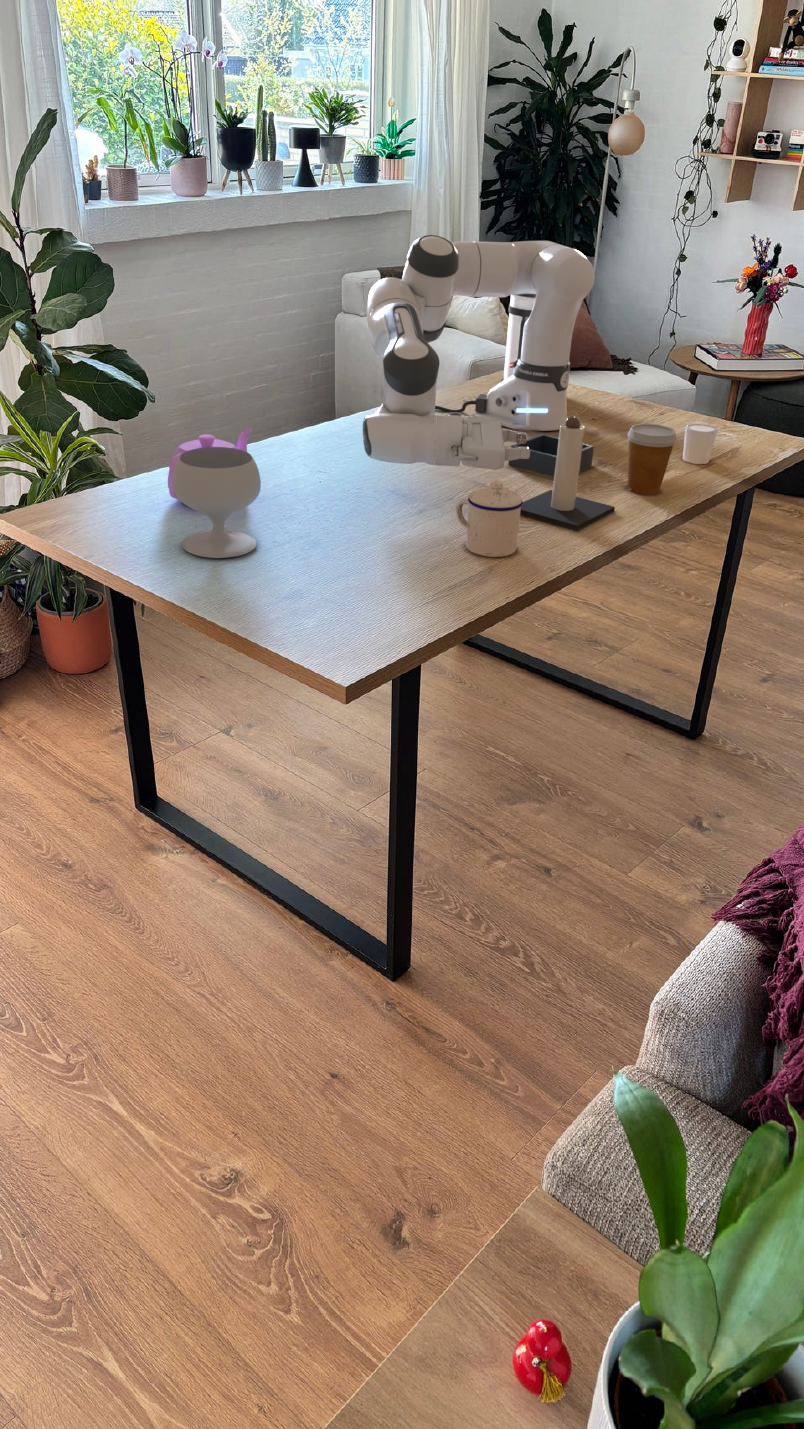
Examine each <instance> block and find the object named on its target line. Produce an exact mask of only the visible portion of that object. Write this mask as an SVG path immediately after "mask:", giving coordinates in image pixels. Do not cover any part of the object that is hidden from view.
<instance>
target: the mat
mask: <svg viewBox="0 0 804 1429" xmlns="http://www.w3.org/2000/svg"><path fill="white" fill-rule="evenodd" d="M552 491H553V489H549V490H547V491H544V492H542V493H540V494H538V495H535V496H534V497H531V498H528V499H527V500H524V501H523V504H522V506H521V510H520V516H524V517H527V518H530V519H535V520H537V521H541V522H545V523H548V524H552V525H555V526H559V527H563V528H565V529H569V530H573V531H576V532H578V531H580V530H582V529H584V528H586V527H587V526H590V525H592V524H593V523H595V522H597V521H599V520H601V519H603V518H605V517H608V516H609V515H611V514H613V513H614V512H615V510H616V509H615V507H616V506H613V505H611V504H610V505H609V504H605V503H602V502H598V501H595V500H591V499H588V498H583V497H579V496H576V501H575V508H574V509H573V510H570V511H560V510H556V509H553V508H552V507H551V500H552Z"/></svg>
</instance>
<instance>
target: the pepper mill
mask: <svg viewBox="0 0 804 1429" xmlns="http://www.w3.org/2000/svg"><path fill="white" fill-rule="evenodd" d="M585 429H586V427H585V426H584V425H582V422H581V419H580V418H579V417H578V416H576V415H572V416H569V417H567V420H566V421H565V424H561V425H560V430H558V431H559V432H558V438H559V440H558V449H557V457H556V466H555V474H554V477H553V484H552V490H553V491H552V500H551V507H552V508H553V509H556V510H560V511H570V510H573V509H574V508H575V501H576V497H577V493H578V492H577V491H578V485H579V476H580V471H579V469H580V462H581V454H582V446H583V444H584V438H585Z"/></svg>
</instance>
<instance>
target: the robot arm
mask: <svg viewBox="0 0 804 1429" xmlns="http://www.w3.org/2000/svg"><path fill="white" fill-rule="evenodd" d="M407 252H408V253H407V255H406V262H405V266H404V269H403V273H402V277H401V278H398V277H395V276H394V277H393V276H392V277H390V276H389V277H385V278H382V279H379V280H378V281H377V282H375V283H374V284H373V285H372V287H371V288H370V289H369V293H368V296H367V300H366V327H367V333H368V338H369V341H370V344H371V346H372V348H373V350H374V351H375V353H376V355H378V356H379V357H380V358H382V370H383V402H382V403H381V405H380V406H379V408H378V409H377V410H376V411H375V412H374V413H373V414H368V415H365V416H364V418H363V420H362V436H363V437H362V438H363V440H362V442H363V449H364V451H365V454H366V455H367V456H368V457H369V458H370V459H373V460H375V461H379V462H383V463H392V464H402V465H403V464H404V465H413V464H416V463H417V464H418V463H422V464H423V463H424V464H427V465H431V466H440V467H458V468H459V467H460V466H461V464H462V465H463V466H464V467H470V468H475V469H476V468H477V469H485V470H500V469H501V470H502V469H504V467H505V461H508V462H509V461H511V460H516V459H528V458H529V457H530V449H529V447H521V446H520V448H511V447H510V446H505V443H507V442H509V443H515V444H516V443H517V444H525V443H526V440H527V439H528V435H527V433H526V432H525V431H517V430H528V431H539V432H540V431H541V432H542V431H543V432H548V431H560V425H561V424H565V421H566V420H567V418H568V410H567V409H568V408H567V407H568V406H567V389H568V387H569V380H570V374H571V373H570V372H571V371H570V370H571V362H570V355H571V348H572V339H573V333H574V327H575V324H576V320H577V317H578V315H579V312H580V309H581V306H582V303H583V300H584V299H585V298H586V297H587V296H588V295H589V294H590V293H591V290H592V289H593V287H594V283H595V279H596V278H595V276H596V274H595V273H596V272H595V268H594V266H593V263H591V261H590V260H589V259H588V258H587V257H586V255H584V253H582V252H581V251H580V250H577V249H575V248H572V247H569V246H566V245H563V244H560V243H557V242H554V241H552V240H551V241H550V240H522V241H521V240H520V241H511V242H510V241H509V242H507V241H506V242H505V241H477V240H476V241H474V240H462V241H459V240H458V241H450V240H449V239H447V238H445V237H442V236H439V235H435V234H426V235H423V236H420V237H419V238H417V239H415V240H414V241H413V243H412V244H411V246H410V248H409V250H408V251H407ZM517 294H536V299H535V303H534V306H533V309H532V312H531V314H530V317H529V318H528V320H527V321H526V322H525V324H524V329H523V339H522V350H521V358H520V359H518V360H516V361H515V362H512V363H510V364H512V365H511V366H510V368H512V367H514V371H513V373H512V375H511V376H509V377H508V378H506V379H505V380H503V381H502V382H501V381H499V383H497V384H495V385H494V386H493V387H492V388H490V390H489V391H488V392H487V394H484V393H480V394H479V395H478V396H477V397H476V398H475V400H467V401H465V402H463V403H462V406H461V408H459V409H450V408H447V407H443V406H440V405H436V402H437V385H438V376H439V369H440V358H439V355H438V353H437V352H436V350H435V349H434V348H433V347H432V345H430V344H429V343H432V342H435V341H437V340H438V339H439V338H440V337H441V335H442V333H443V331H444V329H445V327H446V324H447V321H446V320H447V318H448V315H449V312H450V309H451V306H452V303H453V299H454V296H455V297H456V296H458V297H469V298H471V297H474V298H475V297H476V298H478V297H479V298H507V297H508V296H510V297H511V295H517ZM470 405H475V408H474V415H464V416H463V413H464V412H465V410H466V408H467V406H470ZM436 410H437V411H441V412H445V413H448V414H446V415H436ZM503 427H505V428H503Z"/></svg>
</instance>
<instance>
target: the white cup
mask: <svg viewBox="0 0 804 1429" xmlns="http://www.w3.org/2000/svg"><path fill="white" fill-rule="evenodd" d="M718 430H719V429H718V428H716V427H715V426H711V425H707V424H701V423H700V424H699V423H692V424H691V423H690V424H686V425H685V427H684V439H683V449H682V450H683V451H682V461H683V462H686V463H689V464H694V465H706V464H709V463H710V459H711V456H712V452H713V449H714V445H715V442H716V438H717V434H718Z"/></svg>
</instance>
